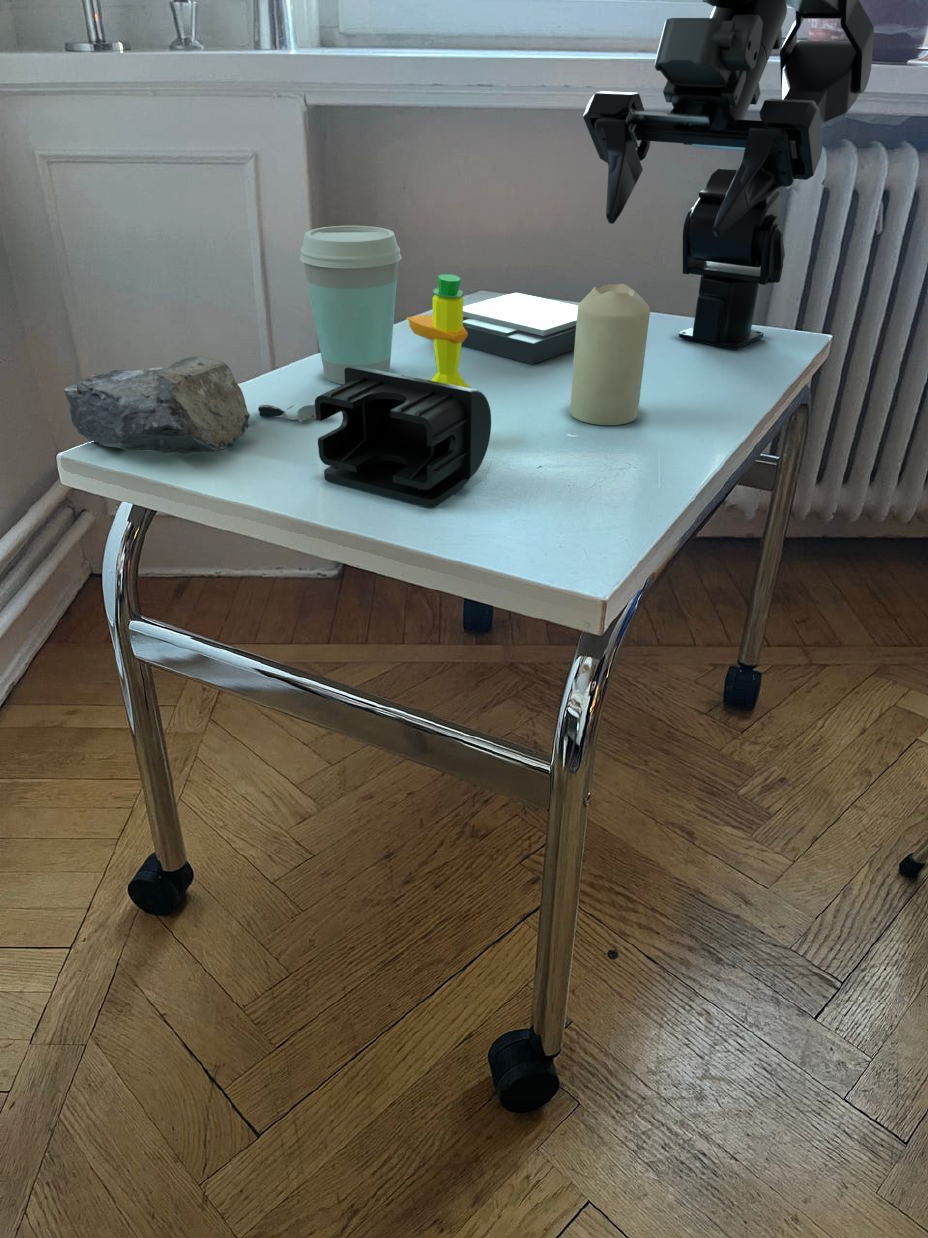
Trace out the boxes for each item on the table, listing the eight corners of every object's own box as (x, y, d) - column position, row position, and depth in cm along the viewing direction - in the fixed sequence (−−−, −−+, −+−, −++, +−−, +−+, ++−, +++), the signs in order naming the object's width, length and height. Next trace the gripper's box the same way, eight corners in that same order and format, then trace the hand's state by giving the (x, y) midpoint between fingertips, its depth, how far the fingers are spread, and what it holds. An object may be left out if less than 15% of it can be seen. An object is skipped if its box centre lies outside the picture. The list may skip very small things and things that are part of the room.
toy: (223, 428, 72) (227, 418, 73) (325, 422, 72) (327, 412, 74) (220, 413, 71) (224, 403, 73) (323, 407, 71) (325, 397, 73)
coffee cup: (420, 368, 84) (418, 229, 78) (375, 396, 78) (369, 246, 71) (340, 356, 87) (332, 221, 81) (290, 382, 80) (277, 236, 74)
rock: (266, 422, 73) (261, 354, 70) (216, 473, 63) (207, 396, 60) (93, 410, 74) (81, 343, 71) (18, 459, 64) (1, 383, 61)
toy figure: (395, 431, 71) (390, 269, 64) (430, 421, 73) (428, 262, 66) (453, 457, 66) (454, 286, 60) (488, 445, 69) (493, 278, 62)
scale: (512, 314, 101) (513, 290, 100) (610, 337, 94) (612, 311, 92) (431, 338, 93) (431, 311, 91) (532, 364, 86) (533, 336, 84)
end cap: (491, 473, 64) (494, 378, 60) (439, 511, 59) (438, 410, 55) (373, 445, 68) (369, 355, 65) (315, 479, 63) (307, 382, 59)
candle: (636, 428, 72) (651, 297, 66) (566, 423, 73) (575, 293, 67) (638, 405, 76) (653, 280, 71) (573, 400, 77) (582, 277, 72)
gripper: (601, -28, 71) (526, 149, 70) (845, -34, 63) (763, 168, 62) (636, 80, 81) (570, 236, 80) (850, 88, 73) (780, 263, 71)
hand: (661, 226), depth 73 cm, fingers open, 9 cm apart
